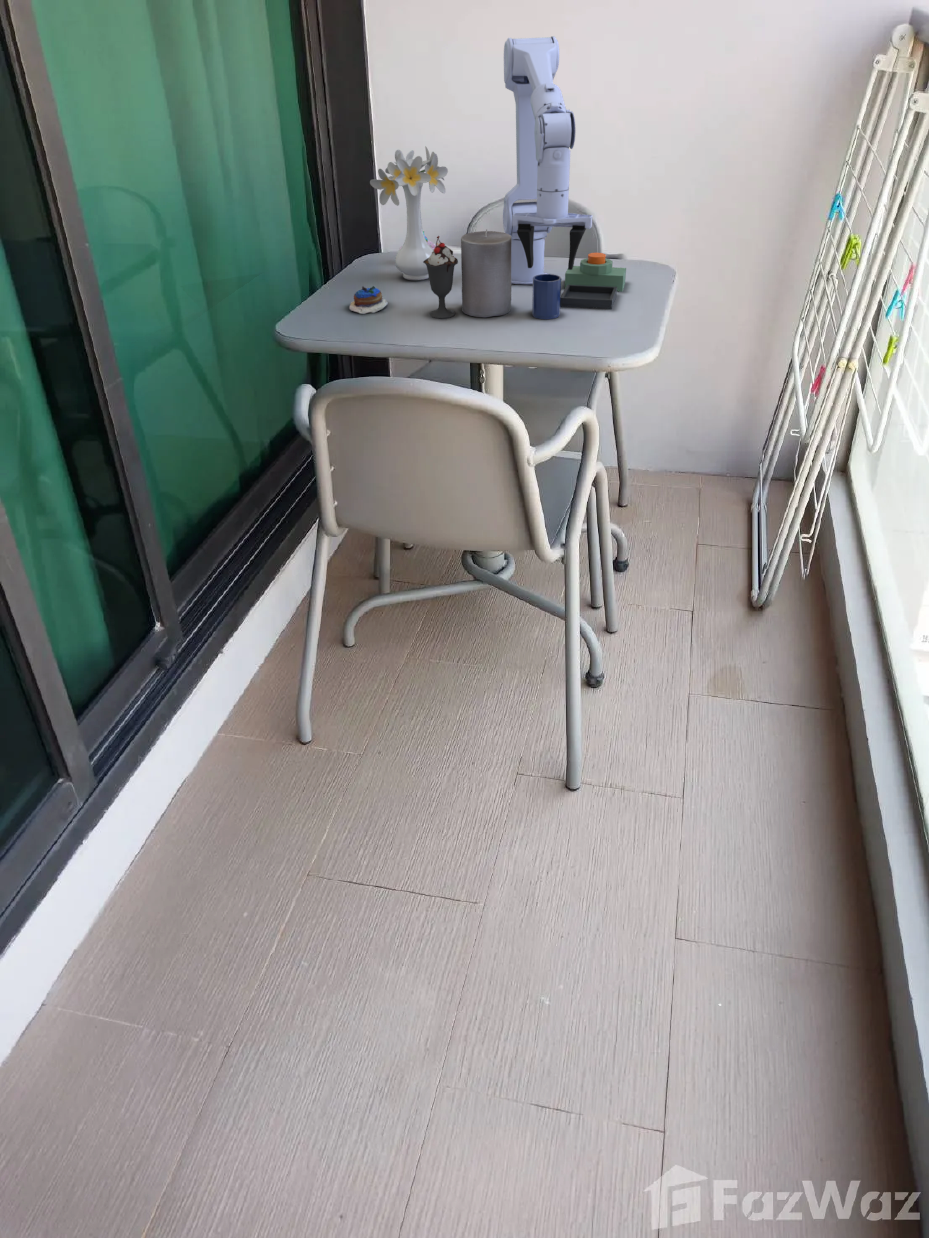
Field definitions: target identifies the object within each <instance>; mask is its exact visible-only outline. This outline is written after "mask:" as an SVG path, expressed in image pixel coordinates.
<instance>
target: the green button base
mask: <svg viewBox="0 0 929 1238" xmlns="http://www.w3.org/2000/svg"><path fill="white" fill-rule="evenodd" d="M613 264H614V263H613V260H611V259H610V258H607V257H606V258H605V263H604V264H589V263H588V257H586V258H583V259H581V260H580V262H579V265H574V266H573V269H572V270H568V268H567V270H566V271H565V274H564V289H565V288H566V286H567V285H587V286H610V287H617V292H619V293H620V292H621V293H622V292H624V288H625V285H626V276H627V267H613Z"/></svg>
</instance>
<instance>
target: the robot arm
mask: <svg viewBox="0 0 929 1238" xmlns="http://www.w3.org/2000/svg"><path fill="white" fill-rule="evenodd" d="M559 65H560V44H559V40H558V39H557V37H556V36H555V35H553V36H548V37H520V38H519V37H518V38H512V37H508V38H507V39H506V40H505V41H504V45H503V81H504V86H505V89H507V90H509V91H511V92H512V94H513V98H514V102H515V103H514V104H515V137H516V138H515V142H516V143H515V146H516V148H515V149H516V150H515V151H516V152H515V153H516V154H515V155H516V184H515V185H514V187H512V188H511V189H509V190H508V192H507V193H506V194H505V195H504V198H503V208H502V225H503V226H502V227H503V233H507V234H509V235H510V236H511V285H514V284H515V285H531V286H533V277H534V276H536V275H540V274H549V273H548V272H545V242H546V241H545V239H546V238H547V237H548V234H550V233H551V231H552V230H553V228H571V229H570V230H569V255H568V262H567V263H568V265H567V267H568V268H567V269H568V270H572V269H573V266H575V259H576V256H577V252H578V249H579V247H580V243H581V241H582V239H583V236H584V234H585V232H586V230H591V229H592V227H593V214H580V213H573V212H569V197H570V196H569V195H570V175H571V150H573V149H574V147H575V141H576V133H577V132H576V131H577V130H576V129H577V128H576V127H577V126H576V119H575V114H574V112H573V110H570V109H567V108H566V107H567V106H566V103H565V100H564V96H563V93H562V92H563V91H562V90H561V88H560V87H559V86H558V85H557V84H556V83H554V79H555V77H556V75H557V72H558V70H559ZM525 200H536V201H525ZM517 201H521V202H517ZM522 201H523V202H522Z"/></svg>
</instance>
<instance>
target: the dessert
mask: <svg viewBox="0 0 929 1238" xmlns="http://www.w3.org/2000/svg"><path fill="white" fill-rule="evenodd" d="M387 305H388V301H387V300H386V299H384V298H383V292H382V291H381V290H380V289H379V288H377V287H375V286H374V285H372V286H371V287H365V286H362V288H361V289H359V290H357V291H355V293H354V294H353V301H351V302H350V304H349V307H348V310H350V311H351V312H352V311H353V312H355V313H358V314H360V315H361V314H362V315H365V314H368V313H372V314H375V313H377V312H378V311H380V310H383V309H384V308H385V307H386V306H387Z"/></svg>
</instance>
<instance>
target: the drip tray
mask: <svg viewBox="0 0 929 1238" xmlns="http://www.w3.org/2000/svg"><path fill="white" fill-rule="evenodd" d="M617 293H618V291H617V287H610V286H587V285H567V286H566V288H565V287H564V290H563V292H562V293H561V301H560V308H575V309H595V310H613V307H614V304H615V301H616V299H617V295H618V294H617Z"/></svg>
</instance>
